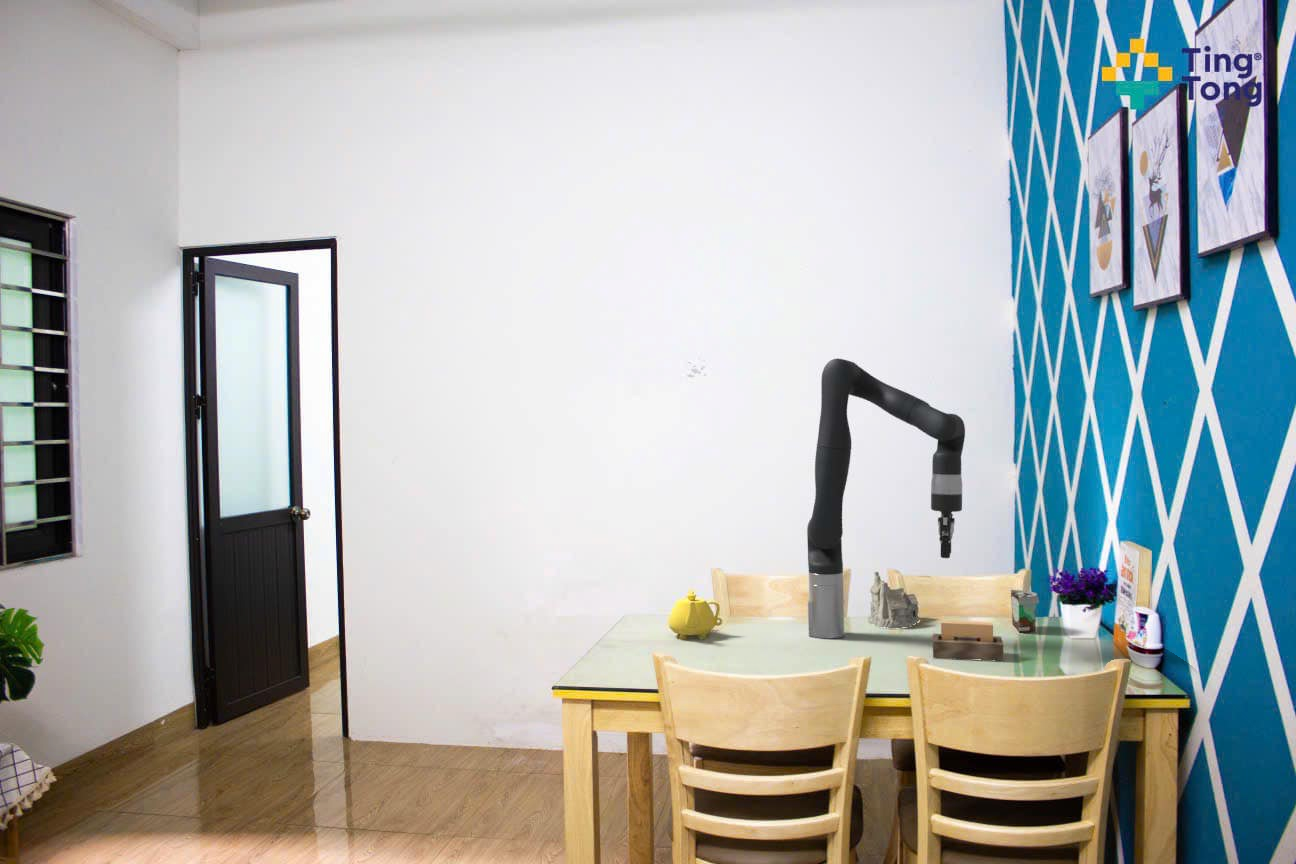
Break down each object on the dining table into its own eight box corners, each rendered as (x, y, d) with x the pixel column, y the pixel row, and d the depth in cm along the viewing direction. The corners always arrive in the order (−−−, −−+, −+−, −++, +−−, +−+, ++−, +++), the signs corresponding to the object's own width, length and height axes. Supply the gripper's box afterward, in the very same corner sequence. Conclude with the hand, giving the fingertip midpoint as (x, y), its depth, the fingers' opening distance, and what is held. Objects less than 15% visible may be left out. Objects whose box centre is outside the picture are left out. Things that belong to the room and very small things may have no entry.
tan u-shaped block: (993, 655, 225) (992, 622, 225) (993, 658, 223) (993, 625, 223) (941, 652, 229) (941, 620, 229) (941, 655, 226) (940, 622, 226)
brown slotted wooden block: (933, 657, 224) (932, 641, 224) (933, 649, 233) (933, 633, 233) (1003, 661, 219) (1003, 644, 219) (1001, 652, 228) (1001, 636, 228)
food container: (1044, 635, 245) (1043, 597, 245) (1020, 634, 247) (1019, 597, 247) (1034, 625, 258) (1033, 589, 258) (1011, 625, 259) (1010, 589, 259)
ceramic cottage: (878, 629, 257) (880, 575, 257) (861, 619, 273) (862, 569, 274) (933, 631, 258) (934, 577, 258) (913, 621, 274) (914, 570, 275)
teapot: (724, 643, 245) (723, 600, 245) (668, 644, 245) (667, 601, 245) (720, 627, 265) (719, 587, 265) (668, 628, 265) (668, 588, 265)
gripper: (961, 494, 226) (960, 560, 226) (962, 490, 239) (962, 553, 239) (929, 493, 229) (928, 558, 229) (932, 489, 242) (932, 551, 242)
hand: (946, 555), depth 234 cm, fingers open, 8 cm apart
